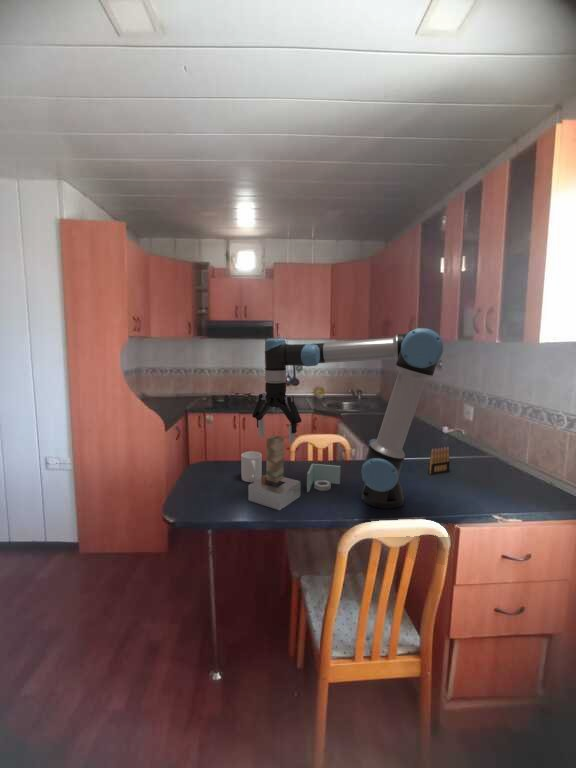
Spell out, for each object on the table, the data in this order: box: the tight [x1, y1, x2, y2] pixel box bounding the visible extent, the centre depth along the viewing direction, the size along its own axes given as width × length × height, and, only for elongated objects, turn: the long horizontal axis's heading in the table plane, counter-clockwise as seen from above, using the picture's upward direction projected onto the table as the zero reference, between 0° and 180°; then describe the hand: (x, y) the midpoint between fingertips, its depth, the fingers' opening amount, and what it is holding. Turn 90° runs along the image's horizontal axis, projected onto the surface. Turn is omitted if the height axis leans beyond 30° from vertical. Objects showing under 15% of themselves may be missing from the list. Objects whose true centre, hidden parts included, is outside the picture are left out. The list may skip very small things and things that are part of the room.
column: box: [265, 435, 285, 483], centre depth 136 cm, size 5×5×16 cm
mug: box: [240, 451, 263, 483], centre depth 154 cm, size 9×12×11 cm
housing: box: [247, 473, 301, 511], centre depth 137 cm, size 14×14×8 cm
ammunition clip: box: [427, 446, 451, 476], centre depth 165 cm, size 11×2×12 cm, turn 112°
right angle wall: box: [306, 463, 341, 493], centre depth 148 cm, size 12×12×8 cm
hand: (276, 439), depth 134 cm, fingers open, 13 cm apart
